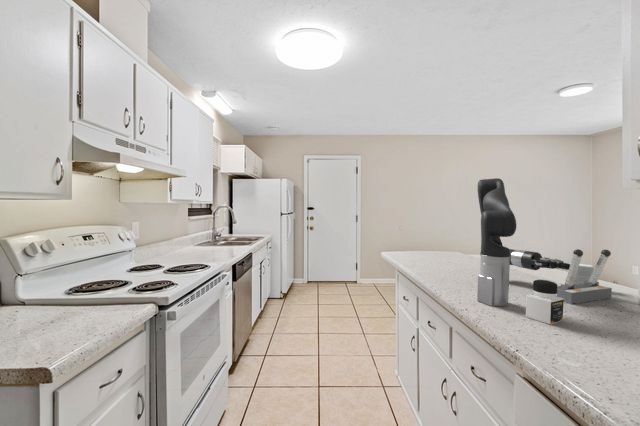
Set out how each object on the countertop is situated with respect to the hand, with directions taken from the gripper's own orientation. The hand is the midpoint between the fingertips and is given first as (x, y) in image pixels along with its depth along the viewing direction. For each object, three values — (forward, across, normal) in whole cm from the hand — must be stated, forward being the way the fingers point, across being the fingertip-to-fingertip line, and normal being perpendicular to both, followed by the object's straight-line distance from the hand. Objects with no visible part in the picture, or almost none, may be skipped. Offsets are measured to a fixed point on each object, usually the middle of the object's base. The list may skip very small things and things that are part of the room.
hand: (571, 267), depth 114 cm
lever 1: (-1, 0, +8) cm, 8 cm away
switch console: (-1, +7, +13) cm, 14 cm away
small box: (-10, +23, +13) cm, 28 cm away
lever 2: (-1, +14, +8) cm, 16 cm away
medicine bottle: (+10, -30, +13) cm, 34 cm away
